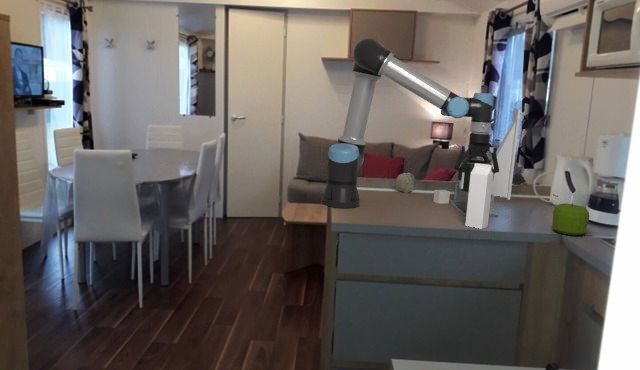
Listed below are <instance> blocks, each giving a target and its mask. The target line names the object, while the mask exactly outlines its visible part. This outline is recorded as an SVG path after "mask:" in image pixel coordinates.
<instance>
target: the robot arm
mask: <svg viewBox="0 0 640 370" xmlns="http://www.w3.org/2000/svg"><path fill="white" fill-rule="evenodd" d="M352 55H353V60H354V63H353V69H352V73H353V75H354V82H353V86H352V91H351V95H350V101H349V105H348V110H347V114H346V119H345V123H344V124H345V125H344V127H343V132H342V135H341V136H339V137H338V139H337V143H335V144H332V145H330V146H329V148H328V152H327V157H328V158H327V159H328V160H327V175H326V176H327V177H326V179H327V181H326V186H325V188H324V191H323V193H322V197H321V204H322V205H323V206H327V207H330V208H337V209H352V208H353V209H354V208H358V207H360V204H361V198H360V195H359V189H358V186H357V185H358V184H357V181H358V170H359V169H360V168H361V167H362V165H363V163H364V160H365V158H364V157H365V149H366V145H367V143H366V142H365V140H364V138H365V134H366V129H367V123H368V121H369V120H368V119H369V115H370V111H371V107H372V101H373V98H374V93H375V88H376V85H377V81H378V80H380V79H381V78H382V75H383V76H384V77H386V78H387V79H390V80H391V81H393V82H394V83H396V84H398V85H399V86H401V87H403V88H404V89H406V90H408V91H409V92H411V93H413V94H414V95H416V96H417V97H419V98H421V99H422V100H424V101H426V102H428V103H429V104H431V105H433V106H434V107H436V108H438V109H439V110H440V115H441V116H443V117H445V116H447V117H451V118H454V119H462V118H464V117H465V118H471V120H470V121H471V122H470V130H469V131H470V134H469V139H468V140H469V142H468V145H461V146H460V150H459V153H458V156H457V159H456V162H455V164H454V165H453V170H455V171H457V172H458V174H457V180H458V181H459V182H460V185H459V188H461V189H463V183H464V172H463V170H464V169H465V167H466V166H467V163H466V162H470V160H473V158H474V157H475V158H476V157H480V158H483V161H485V163H490V164H489V165H491V161H493V166H494V169H493V167H491V170H492V172H493V178H494V174H495V173H496V172H499V166H498V161H497V156H496V152H497V150H498V147H494V146H492V147H491V146H490V140H491V139H490V137H491V135H490V133H491V128H492V118H493V108H494V95H493V93H489V92H488V93H487V92H474V94H473V96H472V97H465V96H464V97H463V96H460V95H458V94H457V93H455V92H453V91H452V90H450V89H448V88H447V87H445V86H443V85H441V84H440V83H438V82H437V81H435V80H433V79H432V78H429V76H426V75H425V74H423V73H421V72H420V71H418V70H417V69H415V68H413V67H411V66H410V65H408V64H407V63H405V62H403V61H401V60H400V59H397V57H395V56H394V54H393V52H391V51H390V50H388V49H387V48H386V47H385V46H384V45H383V44H382V43H381V42H380V41H378V40H377V39H374V38H363V39H362V40H359V42H357V44H356V45H355V46H354V49H353V53H352ZM467 151H468V152H469V153H468V154H467V157H465V159H463V158H464V156H465V154H466V152H467ZM488 152H490V153H491V161H490V158H489V156H488V154H487V153H488ZM462 160H464V161H465V162H464V163H463V162H462ZM491 166H492V165H491Z"/></svg>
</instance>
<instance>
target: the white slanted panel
mask: <svg viewBox="0 0 640 370" xmlns="http://www.w3.org/2000/svg"><path fill="white" fill-rule="evenodd" d="M521 111H522V110H521V109H520V108H513V109H512V116H511V118H512V119H511V124H510V126H509V128H508V129H507V131H506V133H505V135H504V137H503V138H502V140H501V142H500V144H499V147H497V152H496V156H497V161H498V166H499V172H496V173H495V174H494V178H493V183H492V192H491V194H493V195H494V196H500V197H499V198H506V199H507V201H508V200H511V196H512V195H511V194H512V187H513V179H514V171H515V162H516V154H517V147H518V145H517V144H518V136H519V127H520V121H521ZM490 163H491V165H492V167H493V169H494V166H493V161H492V160H491V161H490Z"/></svg>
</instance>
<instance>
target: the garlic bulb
mask: <svg viewBox="0 0 640 370" xmlns="http://www.w3.org/2000/svg"><path fill="white" fill-rule="evenodd" d="M393 184H394V185H395V189H396V191H398V192H401V193H406V194H407V193H411V192H412V191H413V190H414V189H415V185H416V178H415V176H414V174H412V173H410V172H403V173H399V174H398V175H397V177H396V178H395V180H394V181H393Z"/></svg>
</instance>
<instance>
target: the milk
mask: <svg viewBox="0 0 640 370" xmlns="http://www.w3.org/2000/svg"><path fill="white" fill-rule="evenodd" d="M491 167H492V166H491V165H487V164H479V163H475V165H474V168H473V170H472V172H471V175H470V185H469V194H468V204H467V213H466V216H465V227H468V226H469V227H468V228H473V227H475V228H474V229H478V228H479V230H483V229H485V228H487V227H488V226H489V219H490V217H489V210H490V201H491V192H492V183H493V172H492V170H491Z"/></svg>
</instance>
